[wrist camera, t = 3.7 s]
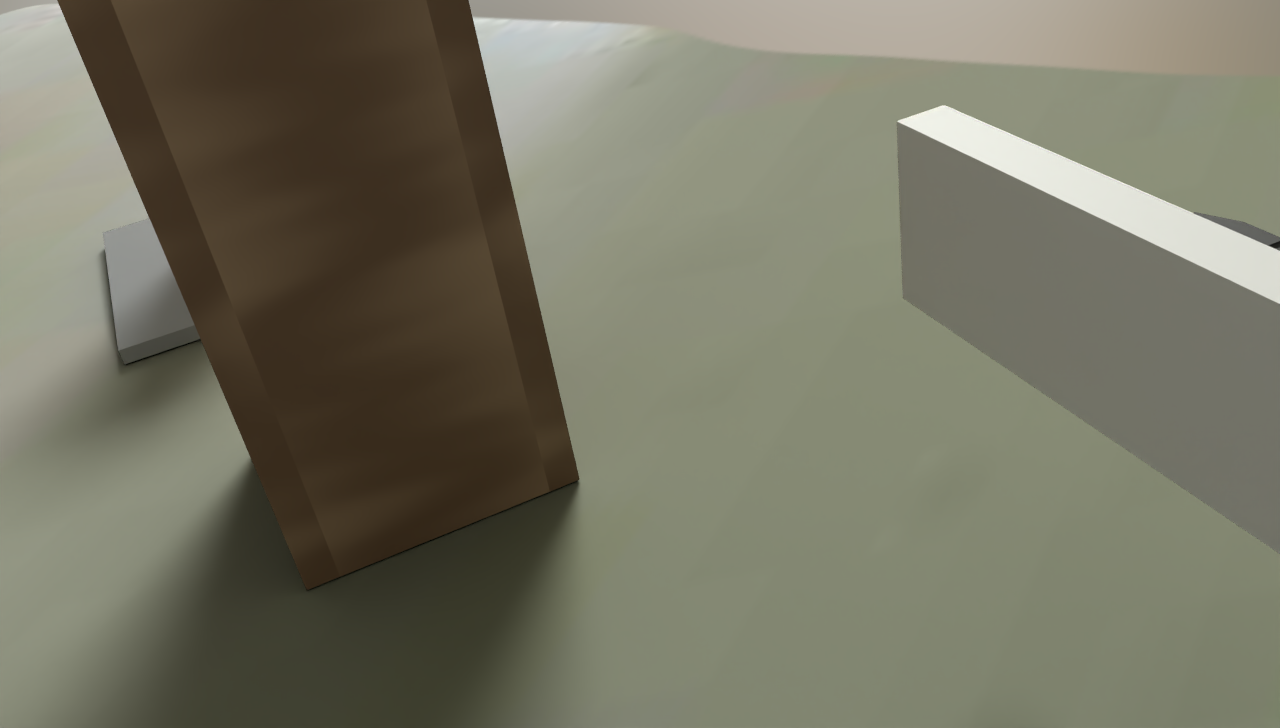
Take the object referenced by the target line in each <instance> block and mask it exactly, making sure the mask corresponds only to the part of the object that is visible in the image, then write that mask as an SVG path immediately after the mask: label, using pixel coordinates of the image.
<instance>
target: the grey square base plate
mask: <svg viewBox="0 0 1280 728" xmlns="http://www.w3.org/2000/svg"><path fill="white" fill-rule="evenodd" d="M103 237H104V245H105V253H106V260H107V268H108V276H109V284H110V291H111V299H112V307H113V315H114V322H115V330H116V338H117V345H118V351H119V353H120V356H121V358H122V360H123V362H124V364H127V363H130V362H133V361H136V360H139V359H142V358H145V357H148V356H151V355H154V354H157V353H160V352H163V351H166V350H169V349H172V348H175V347H178V346H181V345H184V344H187V343H190V342H193V341H196V340H199V339H200V337H199V334H198V332H197V329H196V327H195V325H194V322H193V320H192V318H191V315H190V313H189V311H188V308H187V306H186V303H185V301H184V299H183V296H182V294H181V292H180V289H179V287H178V284H177V282H176V280H175V277H174V275H173V273H172V270H171V268H170V266H169V263H168V261H167V258H166V256H165V254H164V251H163V249H162V247H161V244H160V242H159V240H158V237H157V235H156V232H155V230H154V228H153V225H152V223H151V221H150V218H149V219H146V220H143V221H139V222H136V223H133V224H129V225H126V226H123V227H120V228H116V229H113V230H110V231H106V232H103Z"/></svg>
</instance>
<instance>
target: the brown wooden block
mask: <svg viewBox="0 0 1280 728" xmlns="http://www.w3.org/2000/svg"><path fill="white" fill-rule="evenodd" d="M58 3H59V5H60V8H61V10H62V12H63V15H64V17H65V20H66V22H67V24H68V27H69V29H70V31H71V34H72V36H73V38H74V41H75V43H76V46H77V48H78V50H79V53H80V55H81V57H82V60H83V62H84V64H85V67H86V69H87V72H88V74H89V76H90V79H91V81H92V83H93V86H94V88H95V91H96V93H97V95H98V98H99V100H100V102H101V105H102V107H103V109H104V112H105V114H106V117H107V119H108V121H109V124H110V126H111V128H112V131H113V133H114V135H115V138H116V140H117V143H118V145H119V147H120V150H121V152H122V154H123V157H124V159H125V161H126V164H127V166H128V169H129V171H130V173H131V176H132V178H133V180H134V183H135V185H136V188H137V190H138V192H139V195H140V197H141V199H142V202H143V204H144V206H145V209H146V211H147V214H148V216H149V218H150V221H151V223H152V225H153V228H154V230H155V232H156V235H157V237H158V240H159V242H160V244H161V247H162V249H163V251H164V254H165V256H166V258H167V261H168V263H169V266H170V268H171V270H172V273H173V275H174V277H175V280H176V282H177V284H178V287H179V289H180V292H181V294H182V296H183V299H184V301H185V303H186V306H187V308H188V311H189V313H190V315H191V318H192V320H193V322H194V325H195V327H196V329H197V332H198V334H199V337H200V339H201V341H202V344H203V346H204V348H205V351H206V353H207V355H208V358H209V360H210V363H211V365H212V367H213V370H214V372H215V374H216V377H217V379H218V381H219V384H220V386H221V389H222V391H223V393H224V396H225V398H226V400H227V403H228V405H229V408H230V410H231V412H232V415H233V417H234V419H235V422H236V424H237V426H238V429H239V431H240V434H241V436H242V438H243V441H244V443H245V445H246V448H247V450H248V452H249V455H250V457H251V460H252V462H253V464H254V467H255V469H256V471H257V474H258V476H259V478H260V481H261V483H262V486H263V488H264V490H265V493H266V495H267V497H268V500H269V502H270V504H271V507H272V509H273V512H274V514H275V516H276V519H277V521H278V523H279V526H280V528H281V531H282V533H283V535H284V538H285V540H286V542H287V545H288V547H289V549H290V552H291V554H292V557H293V559H294V561H295V564H296V566H297V568H298V571H299V573H300V575H301V578H302V580H303V583H304V585H305V587H306V590H309V589H311V588H314V587H316V586H318V585H321V584H323V583H326V582H328V581H331V580H333V579H336V578H338V577H341V576H343V575H346V574H348V573H350V572H353V571H355V570H358V569H360V568H363V567H365V566H368V565H370V564H373V563H375V562H378V561H380V560H383V559H385V558H387V557H390V556H392V555H395V554H397V553H400V552H402V551H405V550H407V549H410V548H412V547H415V546H417V545H419V544H422V543H424V542H427V541H429V540H432V539H434V538H437V537H439V536H442V535H444V534H447V533H449V532H452V531H454V530H456V529H459V528H461V527H464V526H466V525H469V524H471V523H474V522H476V521H479V520H481V519H484V518H486V517H488V516H491V515H493V514H496V513H498V512H501V511H503V510H506V509H508V508H511V507H513V506H516V505H518V504H520V503H523V502H525V501H528V500H530V499H533V498H535V497H538V496H540V495H543V494H545V493H548V492H550V491H553V490H555V489H557V488H560V487H562V486H565V485H567V484H570V483H572V482H575V481H577V480H579V475H578V471H577V467H576V462H575V458H574V454H573V449H572V445H571V441H570V436H569V432H568V428H567V424H566V419H565V415H564V411H563V406H562V402H561V398H560V393H559V389H558V385H557V380H556V376H555V372H554V367H553V363H552V359H551V354H550V350H549V346H548V342H547V337H546V333H545V329H544V324H543V320H542V316H541V311H540V307H539V303H538V298H537V294H536V290H535V285H534V281H533V277H532V273H531V268H530V264H529V260H528V255H527V251H526V247H525V242H524V238H523V234H522V229H521V225H520V221H519V216H518V212H517V208H516V204H515V199H514V195H513V191H512V186H511V182H510V178H509V173H508V169H507V165H506V160H505V156H504V152H503V147H502V143H501V139H500V135H499V130H498V126H497V122H496V117H495V113H494V109H493V104H492V100H491V96H490V91H489V87H488V83H487V78H486V74H485V70H484V66H483V61H482V57H481V53H480V48H479V44H478V40H477V35H476V31H475V27H474V22H473V18H472V14H471V9H470V5H469V1H468V0H58Z"/></svg>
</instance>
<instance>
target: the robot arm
mask: <svg viewBox="0 0 1280 728" xmlns="http://www.w3.org/2000/svg"><path fill="white" fill-rule="evenodd" d="M897 145H898V174H899V203H900V232H901V261H902V290H903V298H904V299H905V300H907V301H908V302H909V303H911V304H912V305H914V306H915V307H917V308H918V309H920V310H921V311H923V312H924V313H926V314H927V315H929V316H930V317H932V318H933V319H935V320H936V321H937V322H939V323H940V324H942V325H943V326H945V327H946V328H948V329H949V330H951V331H952V332H954V333H955V334H957V335H958V336H960V337H961V338H962V339H964V340H965V341H967V342H968V343H970V344H971V345H973V346H974V347H976V348H977V349H979V350H980V351H982V352H983V353H985V354H986V355H988V356H989V357H990V358H992V359H993V360H995V361H996V362H998V363H999V364H1001V365H1002V366H1004V367H1005V368H1007V369H1008V370H1010V371H1011V372H1013V373H1014V374H1016V375H1017V376H1018V377H1020V378H1021V379H1023V380H1024V381H1026V382H1027V383H1029V384H1030V385H1032V386H1033V387H1035V388H1036V389H1038V390H1039V391H1041V392H1042V393H1044V394H1045V395H1046V396H1048V397H1049V398H1051V399H1052V400H1054V401H1055V402H1057V403H1058V404H1060V405H1061V406H1063V407H1064V408H1066V409H1067V410H1069V411H1070V412H1071V413H1073V414H1074V415H1076V416H1077V417H1079V418H1080V419H1082V420H1083V421H1085V422H1086V423H1088V424H1089V425H1091V426H1092V427H1094V428H1095V429H1097V430H1098V431H1099V432H1101V433H1102V434H1104V435H1105V436H1107V437H1108V438H1110V439H1111V440H1113V441H1114V442H1116V443H1117V444H1119V445H1120V446H1122V447H1123V448H1125V449H1126V450H1127V451H1129V452H1130V453H1132V454H1133V455H1135V456H1136V457H1138V458H1139V459H1141V460H1142V461H1144V462H1145V463H1147V464H1148V465H1150V466H1151V467H1152V468H1154V469H1155V470H1157V471H1158V472H1160V473H1161V474H1163V475H1164V476H1166V477H1167V478H1169V479H1170V480H1172V481H1173V482H1175V483H1176V484H1178V485H1179V486H1180V487H1182V488H1183V489H1185V490H1186V491H1188V492H1189V493H1191V494H1192V495H1194V496H1195V497H1197V498H1198V499H1200V500H1201V501H1203V502H1204V503H1206V504H1207V505H1208V506H1210V507H1211V508H1213V509H1214V510H1216V511H1217V512H1219V513H1220V514H1222V515H1223V516H1225V517H1226V518H1228V519H1229V520H1231V521H1232V522H1234V523H1235V524H1236V525H1238V526H1239V527H1241V528H1242V529H1244V530H1245V531H1247V532H1248V533H1250V534H1251V535H1253V536H1254V537H1256V538H1257V539H1259V540H1260V541H1261V542H1263V543H1264V544H1266V545H1267V546H1269V547H1270V548H1272V549H1273V550H1275V551H1276V552H1278V553H1279V554H1280V237H1278V236H1276V235H1273V234H1271V233H1268V232H1266V231H1264V230H1261V229H1259V228H1257V227H1254V226H1252V225H1250V224H1247V223H1245V222H1241V221H1236V220H1231V219H1226V218H1221V217H1216V216H1211V215H1206V214H1201V213H1196V212H1194V213H1191V212H1189V211H1187V210H1184V209H1182V208H1180V207H1178V206H1175V205H1173V204H1171V203H1168V202H1166V201H1164V200H1161V199H1159V198H1157V197H1155V196H1152V195H1150V194H1148V193H1145V192H1143V191H1141V190H1138V189H1136V188H1134V187H1132V186H1129V185H1127V184H1125V183H1122V182H1120V181H1118V180H1115V179H1113V178H1111V177H1108V176H1106V175H1104V174H1102V173H1099V172H1097V171H1095V170H1092V169H1090V168H1088V167H1085V166H1083V165H1081V164H1079V163H1076V162H1074V161H1072V160H1069V159H1067V158H1065V157H1062V156H1060V155H1058V154H1056V153H1053V152H1051V151H1049V150H1046V149H1044V148H1042V147H1039V146H1037V145H1035V144H1033V143H1030V142H1028V141H1026V140H1023V139H1021V138H1019V137H1016V136H1014V135H1012V134H1009V133H1007V132H1005V131H1003V130H1000V129H998V128H996V127H993V126H991V125H989V124H986V123H984V122H982V121H980V120H977V119H975V118H973V117H970V116H968V115H966V114H963V113H961V112H959V111H957V110H954V109H952V108H950V107H947V106H945V105H943V106H940V107H937V108H934V109H931V110H928V111H925V112H922V113H919V114H916V115H913V116H910V117H908V118H905V119H902V120H899V121H897Z"/></svg>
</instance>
